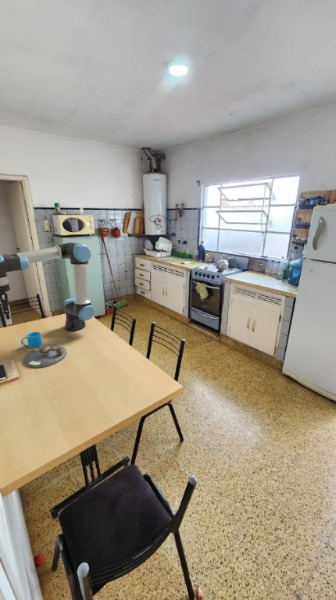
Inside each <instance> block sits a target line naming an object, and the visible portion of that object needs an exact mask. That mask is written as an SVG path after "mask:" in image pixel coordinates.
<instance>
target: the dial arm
mask: <svg viewBox="0 0 336 600" xmlns="http://www.w3.org/2000/svg"><path fill="white" fill-rule="evenodd" d="M62 347H63V346H62ZM62 347H57V348H50V347H49V346H48V345H44V346H42V345H41V346H40V347H38V348H39V349H37V348H29V349H26V350H25V351H26V352H31V351H39V352H40V353H46V352H48V351H56V353H57V355H62V354H63V348H62Z"/></svg>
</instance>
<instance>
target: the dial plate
mask: <svg viewBox="0 0 336 600" xmlns="http://www.w3.org/2000/svg"><path fill="white" fill-rule="evenodd" d="M47 346H49V347H50V348H57V347H62V348H63V354H62V355H57V353H56V351H48V352H46V353H40V352H39V351H28V353H27V354H26V355H24V357H23V360H22V361H23V364H24V365H25V366H26V367H28V368H33V369H39V368H40V369H41V368H47V367H50V366H54V365H56V364H57V363H60V362H61V361H63V360H64V359H65V358H66V356H67V352H68V351H67V348H66V347H64V346H63V345H56V344H51V345H49V344H47ZM39 348H40V347H38V348H36V349H39Z"/></svg>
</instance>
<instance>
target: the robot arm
mask: <svg viewBox="0 0 336 600" xmlns="http://www.w3.org/2000/svg"><path fill="white" fill-rule="evenodd" d="M91 257H92V250H91V249H90V248H89V246H88V245H87V244H85V243H79V242H65V243H61V244H60V243H59V244H56V245H53V246H52V247H47V248H41V249H35V250H29V251H28V250H27V251H24V252H23V251H22V252H18V253H9V254H7V253H4V254H1V255H0V303H1V304H2V309H3V312H2V315H3V316H4V319H5V320H4V321H5V323H6V326H8V325H12V324H13V319H12V313H11V310H10V302H9V296H8V292H9V291H10V290H11V288H10V287H11V286H10V284H9V279H8V275H7V273H12V272H19V271H24V270H27V269H29V268H30V264H35V263H38V262H46V261H49V260H55V259H57V260H63V259H64V260H65V259H66V260H67V259H68V260H69V262H70V265H71V266H72V267H73V268H72V269H73V270H72V271H73V280H74V291H75V292H74V293H75V297H69V298H67V299H65V300H64V301H63V306H64V308H63V309H64V315H65V324H64V329H65V330H66V331H67V332H69V331H70V332H75V331H80V330H83V329H84V328H85V327H86V321H89V320H91V319H92V318H93V317H94V315H95V312H96V311H95V307H94V306H92V300H91V299H89V297H90V296H89V286H88V285H89V284H88V272H87V270H88V269H87V267H88V264H89V262H90V259H91Z"/></svg>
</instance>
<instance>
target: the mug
mask: <svg viewBox="0 0 336 600" xmlns="http://www.w3.org/2000/svg"><path fill="white" fill-rule="evenodd" d="M41 335H42V334H41V332H40V331H31V332H29V333H27V334H26V336H24V337H23V338H22V339H21V340H20V343H21V345H23V346H24V347H28V348H29V349H37V348H40V347H42V345H43V340H42V339H43V338H42V336H41ZM25 339H26V340H27V344H26V343H24V340H25Z"/></svg>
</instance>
